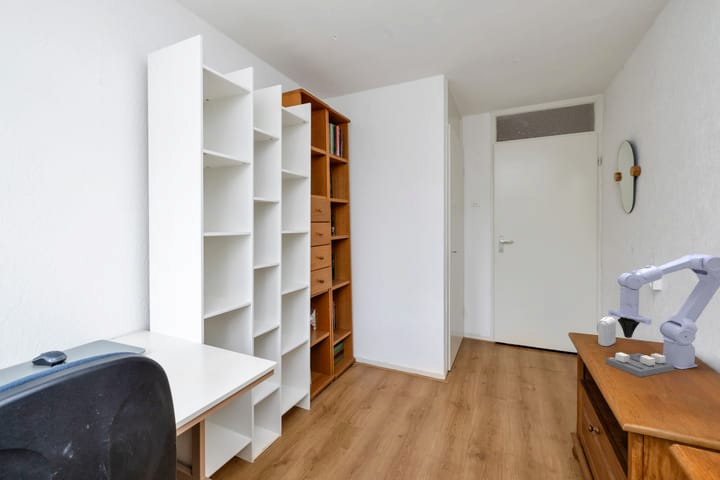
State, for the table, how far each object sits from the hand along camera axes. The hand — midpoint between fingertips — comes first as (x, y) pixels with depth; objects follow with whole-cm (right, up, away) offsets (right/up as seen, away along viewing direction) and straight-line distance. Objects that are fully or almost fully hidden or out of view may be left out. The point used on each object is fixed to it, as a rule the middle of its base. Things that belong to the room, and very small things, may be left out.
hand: (628, 337), depth 128 cm
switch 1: (-7, -7, -5) cm, 11 cm away
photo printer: (+6, -9, +19) cm, 22 cm away
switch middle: (0, -7, -8) cm, 11 cm away
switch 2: (+6, -7, -6) cm, 11 cm away
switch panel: (0, -10, -5) cm, 11 cm away
